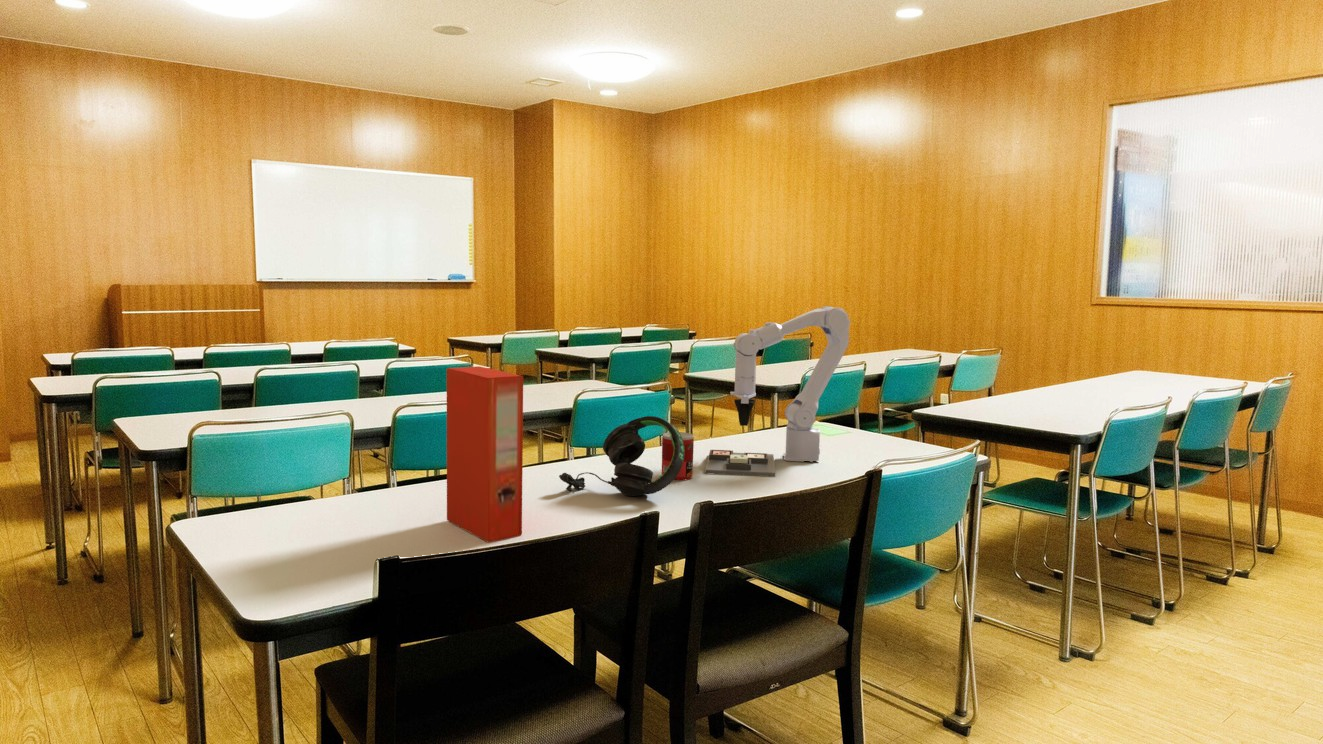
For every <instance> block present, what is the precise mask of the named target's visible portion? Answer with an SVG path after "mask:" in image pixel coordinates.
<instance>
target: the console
mask: <svg viewBox="0 0 1323 744" xmlns="http://www.w3.org/2000/svg"><path fill="white" fill-rule="evenodd" d="M713 451H727V452H730V455H747V454H763V455H764V458H748V464H746V463H730V455H716V454H713ZM706 473H714V474H713V475H731V476H733V475H736V476H751V477H752V476H754V477H774V478H775V477H776V466H775V457H774V454H773V453H761V452H734V450H730V449H729V450H728V449H725V450H724V449H710V450H709V453H708V458H707V462H706V467H705V474H706Z"/></svg>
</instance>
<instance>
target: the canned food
mask: <svg viewBox="0 0 1323 744" xmlns="http://www.w3.org/2000/svg"><path fill="white" fill-rule="evenodd" d="M679 433H680V434H681V437H682V439H683V442H684V449H685V456H684V462H683V465H682V468H681V470H680V472H679V474H678V475H677V477H676V478H675V479H674V480H673V481H686V480H685V479H688V480H690V479H692V478H693V475H694V473H693V472H694V470H693V469H694V448H695V447H694V446H695V445H694V440H695V439H694V434H692V433H689V432H684V431H682V432H681V431H679ZM670 435H671V434H670V433H669V432H668V431H667V432H665V433H663V434H662V438H661V439H662V440H661V441H662V442H661V476H662V475H663V474H664V473H665V472H666V470H667V469H668V467H669V465H670V463H671V461H672V458H673V454H674V447H673V444H672V439H671V437H670ZM691 477H692V478H691Z"/></svg>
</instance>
